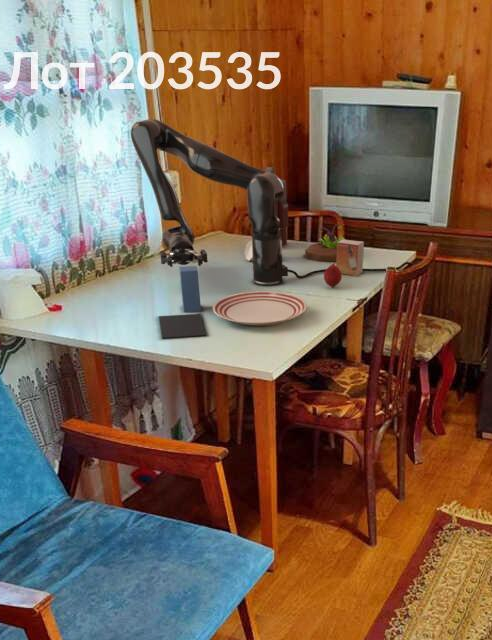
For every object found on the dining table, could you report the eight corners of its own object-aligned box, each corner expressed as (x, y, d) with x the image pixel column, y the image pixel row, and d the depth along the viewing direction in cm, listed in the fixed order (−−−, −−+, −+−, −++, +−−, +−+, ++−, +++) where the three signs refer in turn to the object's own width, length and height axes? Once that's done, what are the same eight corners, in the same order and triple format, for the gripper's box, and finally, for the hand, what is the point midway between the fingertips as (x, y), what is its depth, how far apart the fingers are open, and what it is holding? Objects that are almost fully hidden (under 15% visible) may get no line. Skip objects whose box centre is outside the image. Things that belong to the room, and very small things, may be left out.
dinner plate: (270, 338, 202) (270, 326, 201) (194, 319, 214) (193, 308, 212) (324, 312, 222) (324, 301, 220) (251, 296, 234) (251, 285, 232)
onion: (339, 290, 241) (339, 265, 236) (322, 289, 242) (322, 264, 237) (342, 285, 245) (343, 261, 241) (325, 284, 246) (326, 259, 242)
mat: (200, 315, 218) (200, 313, 218) (206, 336, 203) (206, 334, 203) (158, 317, 215) (158, 316, 215) (162, 338, 201) (161, 337, 201)
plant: (349, 264, 268) (350, 232, 261) (299, 259, 273) (299, 227, 266) (365, 251, 283) (366, 221, 277) (317, 246, 288) (318, 216, 282)
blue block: (199, 306, 225) (196, 265, 218) (201, 311, 221) (197, 270, 214) (182, 307, 224) (179, 266, 217) (184, 312, 220) (180, 271, 213)
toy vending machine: (283, 249, 283) (282, 170, 268) (257, 246, 286) (254, 168, 271) (292, 244, 291) (291, 166, 275) (266, 241, 294) (264, 164, 278)
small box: (335, 273, 258) (336, 242, 252) (341, 269, 262) (342, 238, 256) (357, 276, 255) (358, 244, 249) (362, 272, 260) (364, 241, 254)
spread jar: (285, 259, 272) (284, 226, 266) (266, 265, 264) (265, 231, 258) (259, 254, 277) (258, 221, 271) (240, 260, 269) (238, 227, 263)
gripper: (157, 238, 235) (160, 251, 222) (203, 236, 238) (208, 249, 225) (160, 262, 239) (162, 276, 226) (204, 260, 242) (209, 274, 229)
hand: (185, 263), depth 225 cm, fingers open, 8 cm apart
